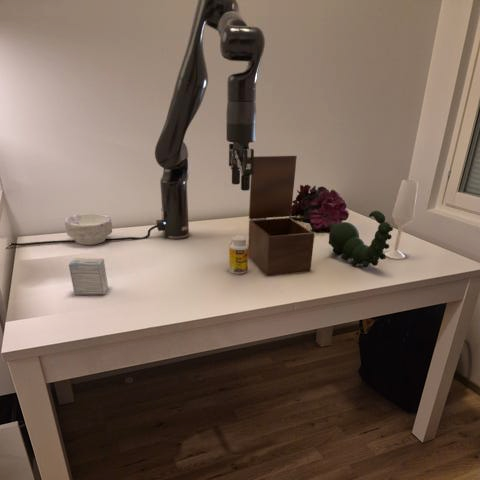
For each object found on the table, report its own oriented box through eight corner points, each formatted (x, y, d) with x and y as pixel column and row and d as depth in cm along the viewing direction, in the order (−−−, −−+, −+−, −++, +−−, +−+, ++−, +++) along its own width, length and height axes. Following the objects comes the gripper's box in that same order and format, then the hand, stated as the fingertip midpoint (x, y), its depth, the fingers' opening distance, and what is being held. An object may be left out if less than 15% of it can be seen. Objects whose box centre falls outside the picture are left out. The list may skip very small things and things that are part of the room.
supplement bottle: (234, 275, 122) (234, 242, 118) (226, 269, 127) (226, 236, 122) (250, 272, 125) (252, 239, 120) (242, 266, 129) (243, 234, 124)
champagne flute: (387, 250, 145) (401, 178, 133) (407, 254, 142) (423, 180, 130) (382, 256, 140) (396, 181, 128) (402, 260, 137) (419, 184, 125)
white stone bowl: (116, 245, 144) (113, 222, 140) (69, 250, 139) (65, 226, 135) (111, 232, 156) (108, 211, 153) (67, 236, 151) (63, 214, 148)
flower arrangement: (280, 215, 183) (283, 179, 176) (320, 211, 190) (323, 177, 182) (317, 235, 158) (322, 195, 151) (361, 231, 164) (367, 192, 157)
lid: (297, 155, 125) (289, 152, 130) (252, 157, 122) (246, 153, 126) (290, 216, 135) (284, 211, 140) (249, 219, 131) (244, 213, 136)
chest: (310, 271, 127) (314, 233, 121) (266, 276, 123) (268, 236, 117) (287, 252, 141) (290, 217, 136) (248, 255, 137) (249, 220, 132)
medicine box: (108, 288, 113) (104, 257, 109) (104, 295, 109) (99, 264, 105) (79, 288, 113) (73, 257, 109) (74, 295, 109) (68, 264, 105)
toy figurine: (387, 275, 129) (336, 244, 147) (404, 216, 119) (347, 190, 137) (364, 280, 125) (314, 248, 143) (380, 219, 115) (324, 193, 133)
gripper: (264, 123, 101) (262, 191, 109) (246, 119, 113) (245, 181, 121) (235, 123, 99) (234, 193, 107) (219, 119, 111) (220, 182, 119)
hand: (240, 187), depth 114 cm, fingers open, 8 cm apart
